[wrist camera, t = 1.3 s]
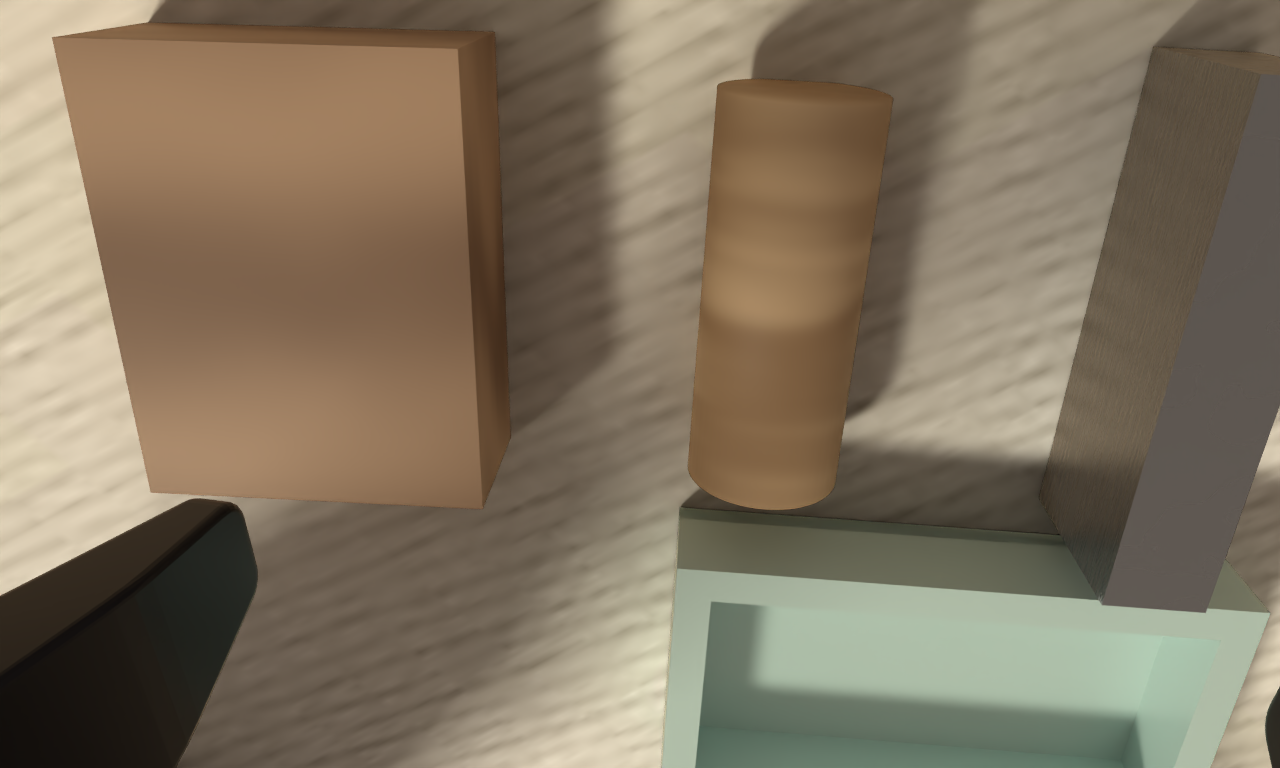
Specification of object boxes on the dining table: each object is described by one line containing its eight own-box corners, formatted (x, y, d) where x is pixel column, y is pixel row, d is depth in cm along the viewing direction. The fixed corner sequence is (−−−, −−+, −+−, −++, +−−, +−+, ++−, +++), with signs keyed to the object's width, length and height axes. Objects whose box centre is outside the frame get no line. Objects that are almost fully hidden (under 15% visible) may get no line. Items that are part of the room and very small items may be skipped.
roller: (832, 444, 23) (838, 518, 20) (694, 429, 23) (680, 500, 20) (885, 85, 19) (901, 111, 16) (722, 74, 20) (710, 98, 17)
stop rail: (1126, 504, 23) (1205, 613, 19) (1038, 498, 23) (1101, 604, 19) (1260, 52, 19) (1395, 81, 15) (1153, 46, 19) (1261, 73, 15)
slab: (512, 431, 23) (482, 509, 20) (225, 417, 24) (150, 492, 21) (498, 30, 20) (457, 48, 16) (156, 21, 20) (52, 37, 17)
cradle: (1136, 770, 26) (1178, 850, 24) (662, 732, 27) (659, 807, 24) (1215, 546, 23) (1270, 613, 21) (679, 507, 24) (676, 568, 21)
